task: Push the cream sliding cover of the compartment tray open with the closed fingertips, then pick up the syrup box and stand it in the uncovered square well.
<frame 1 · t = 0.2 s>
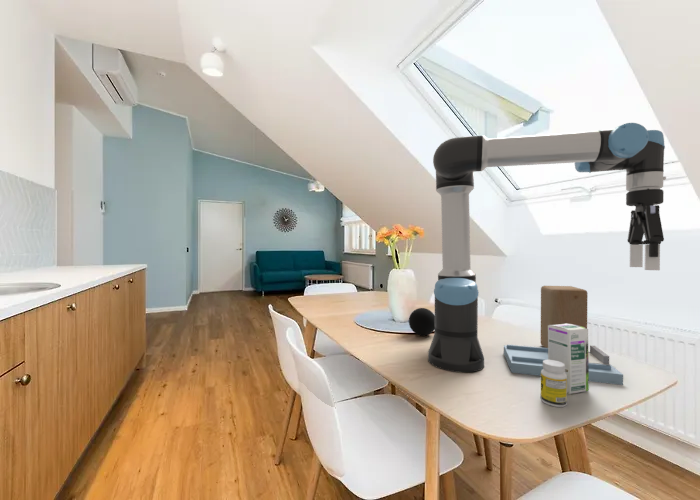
hand: (643, 268, 88), 27 cm above the table, fingers open, 13 cm apart
syrup box: (567, 388, 76), on the table
compartment tray: (555, 367, 89), on the table
cover: (581, 354, 87), point 4 cm above the table, slide at 0.0 cm
decorative ball: (422, 335, 121), on the table
wooden block: (562, 351, 103), on the table
supplement bottle: (553, 403, 69), on the table
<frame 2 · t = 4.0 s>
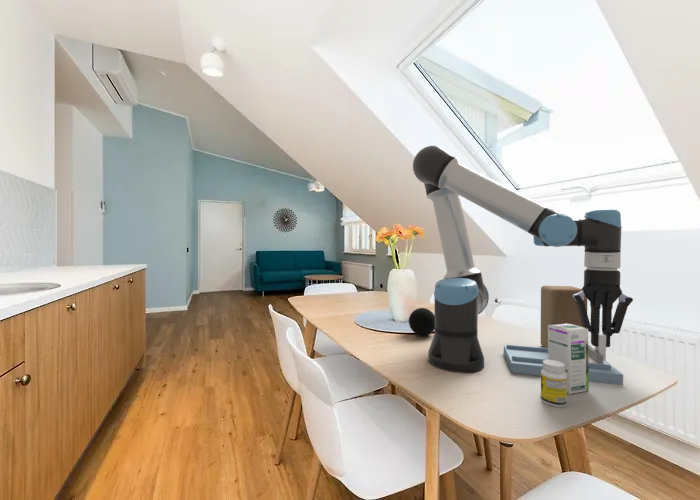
hand: (600, 358, 86), 3 cm above the table, fingers closed
cover: (575, 354, 87), point 4 cm above the table, slide at 1.3 cm, touching gripper
everything else where it was.
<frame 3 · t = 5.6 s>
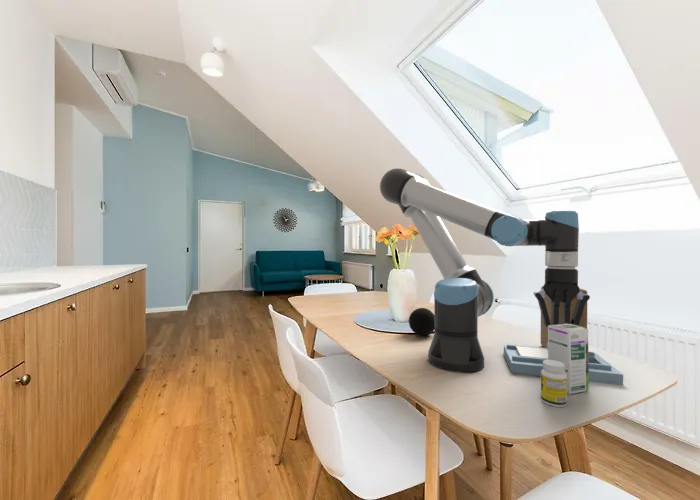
hand: (560, 354, 89), 4 cm above the table, fingers closed
cover: (537, 350, 90), point 4 cm above the table, slide at 10.5 cm, touching gripper
everything else where it was.
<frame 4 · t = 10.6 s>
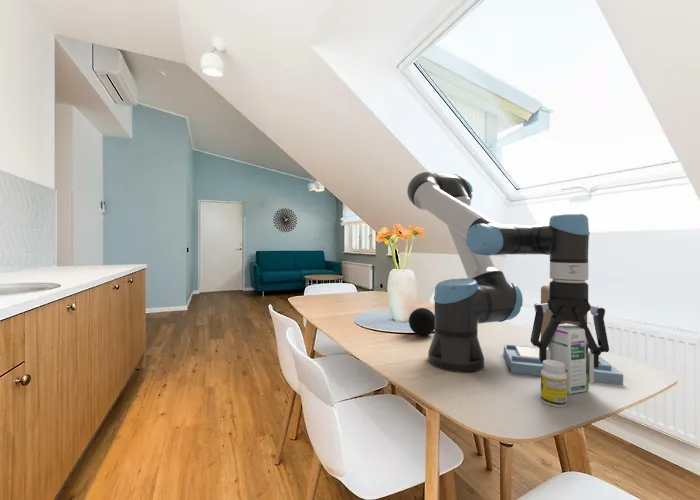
hand: (567, 378, 76), 2 cm above the table, fingers closed on syrup box, 8 cm apart
syrup box: (567, 388, 76), on the table, touching gripper
cover: (537, 350, 90), point 4 cm above the table, slide at 10.6 cm
everything else where it was.
when the fingers open (5 cm above the table, at t = 16.4 s): syrup box drops 3 cm, resting on compartment tray.
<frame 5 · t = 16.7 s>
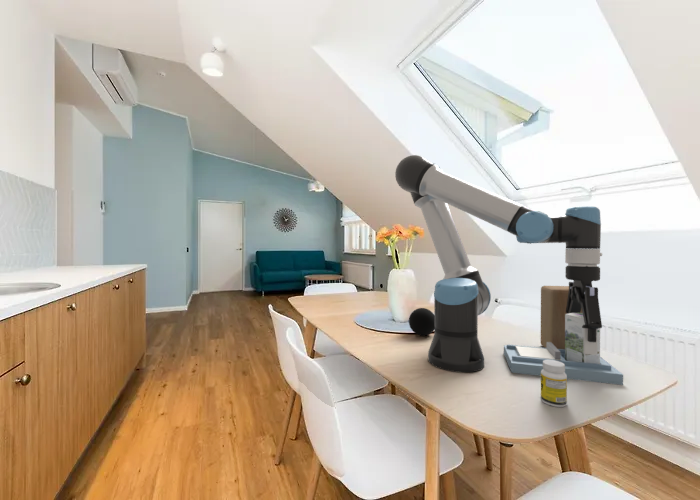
hand: (581, 347, 87), 6 cm above the table, fingers open, 11 cm apart
syrup box: (582, 369, 87), resting on compartment tray
everything else where it was.
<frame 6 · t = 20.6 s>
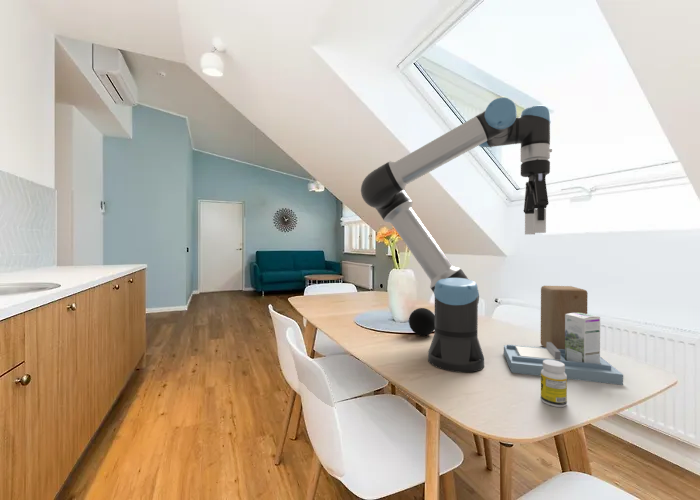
hand: (534, 233, 96), 37 cm above the table, fingers open, 13 cm apart
nothing on the table moved.
at the end: cover slide at 10.6 cm; syrup box 0.2 cm from the target spot on the compartment tray, point 0.1 cm above the compartment tray's base; syrup box tilted 0° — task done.
